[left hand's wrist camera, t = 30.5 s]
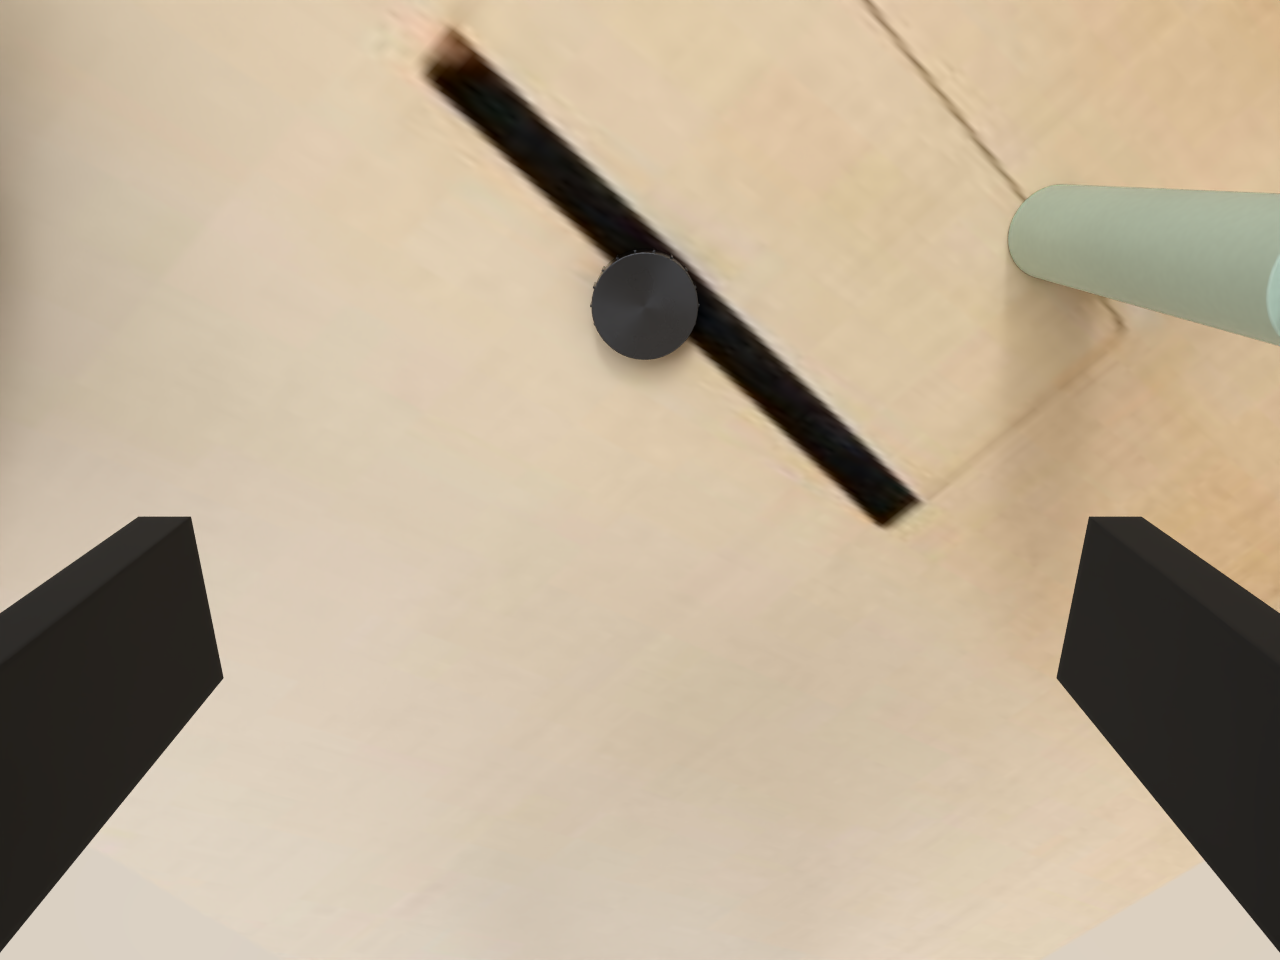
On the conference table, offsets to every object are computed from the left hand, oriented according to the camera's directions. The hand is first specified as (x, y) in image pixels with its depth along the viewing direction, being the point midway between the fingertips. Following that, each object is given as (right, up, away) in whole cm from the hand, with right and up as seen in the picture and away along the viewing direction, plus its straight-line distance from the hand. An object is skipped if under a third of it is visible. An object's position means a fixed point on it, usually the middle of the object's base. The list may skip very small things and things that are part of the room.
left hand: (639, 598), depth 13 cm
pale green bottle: (+20, +14, +27) cm, 36 cm away
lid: (0, +10, +27) cm, 29 cm away
